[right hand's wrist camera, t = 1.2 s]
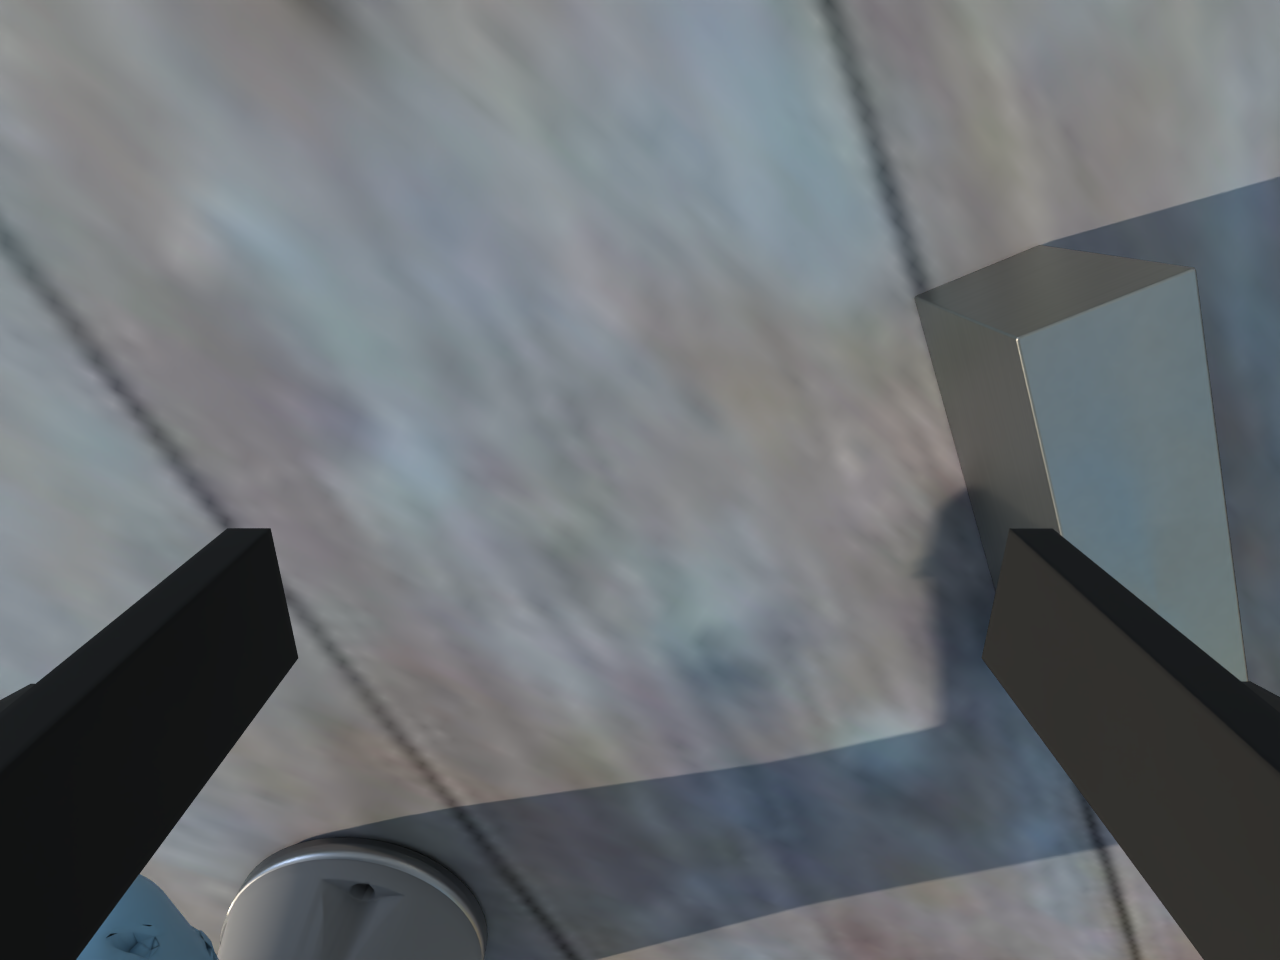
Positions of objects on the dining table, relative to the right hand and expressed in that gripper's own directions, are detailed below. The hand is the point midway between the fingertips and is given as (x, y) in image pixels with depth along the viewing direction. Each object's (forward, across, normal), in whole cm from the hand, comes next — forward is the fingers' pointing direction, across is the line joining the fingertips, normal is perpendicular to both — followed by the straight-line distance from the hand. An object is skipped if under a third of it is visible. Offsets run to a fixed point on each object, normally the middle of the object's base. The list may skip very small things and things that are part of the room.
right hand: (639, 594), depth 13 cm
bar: (+19, +18, -6) cm, 27 cm away
